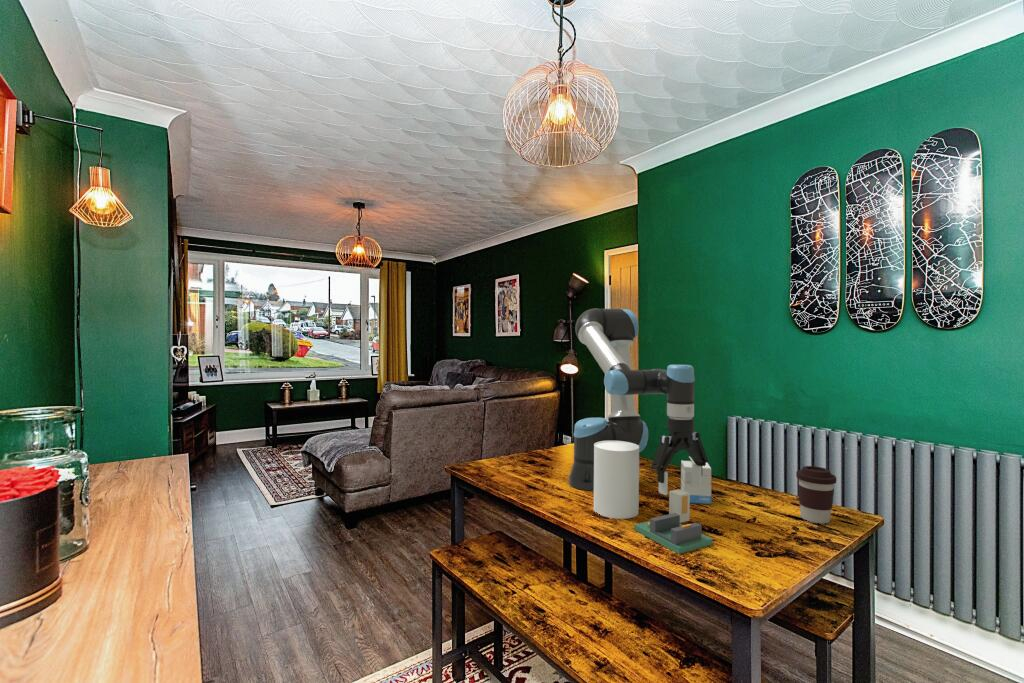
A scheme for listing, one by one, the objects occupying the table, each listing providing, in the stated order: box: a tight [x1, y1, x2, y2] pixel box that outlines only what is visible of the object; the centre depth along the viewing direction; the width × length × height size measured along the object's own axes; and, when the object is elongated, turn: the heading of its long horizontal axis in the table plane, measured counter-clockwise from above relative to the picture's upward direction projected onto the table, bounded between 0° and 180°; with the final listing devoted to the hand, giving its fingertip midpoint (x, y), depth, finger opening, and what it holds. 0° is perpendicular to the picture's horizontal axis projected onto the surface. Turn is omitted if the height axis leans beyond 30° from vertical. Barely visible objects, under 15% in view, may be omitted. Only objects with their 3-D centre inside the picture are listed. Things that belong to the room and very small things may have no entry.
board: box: [634, 513, 714, 555], centre depth 127 cm, size 16×12×5 cm
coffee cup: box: [795, 465, 837, 525], centre depth 140 cm, size 10×10×15 cm
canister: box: [593, 441, 640, 520], centre depth 146 cm, size 14×14×20 cm
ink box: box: [680, 455, 712, 505], centre depth 156 cm, size 9×8×13 cm
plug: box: [668, 488, 691, 524], centre depth 139 cm, size 4×4×8 cm
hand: (680, 490), depth 139 cm, fingers open, 13 cm apart
